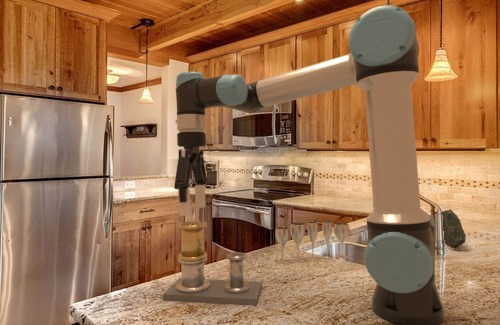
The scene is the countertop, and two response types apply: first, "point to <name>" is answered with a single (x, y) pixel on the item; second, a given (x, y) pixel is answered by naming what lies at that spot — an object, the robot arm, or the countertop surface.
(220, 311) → the countertop surface
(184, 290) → the wide pipe stub
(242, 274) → the narrow pipe stub
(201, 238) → the gold flared knob
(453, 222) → the rock
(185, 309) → the countertop surface
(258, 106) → the robot arm
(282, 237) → the goblet set
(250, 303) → the plate
